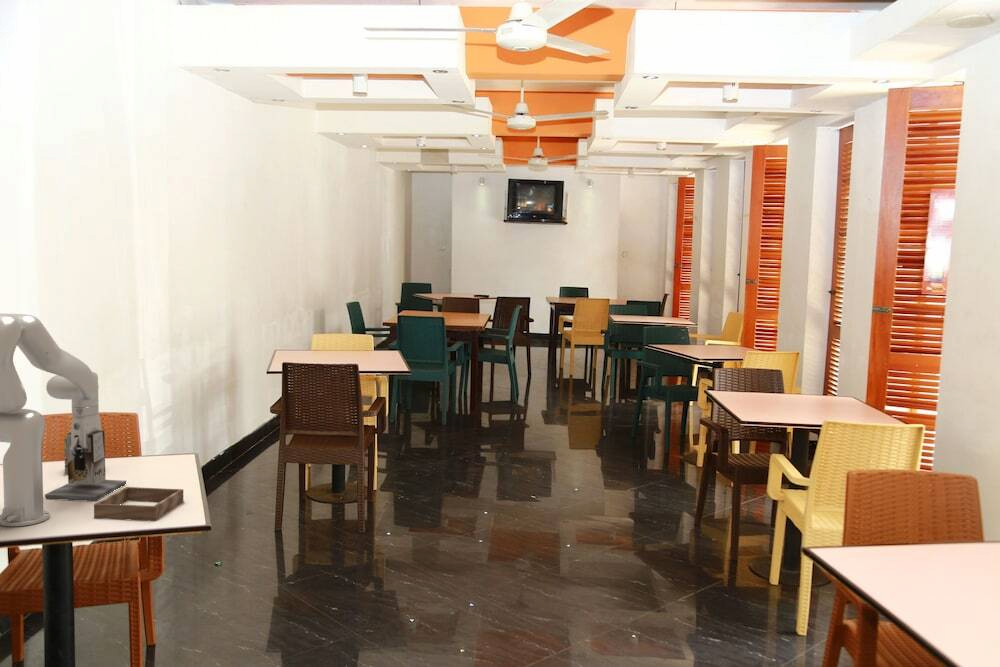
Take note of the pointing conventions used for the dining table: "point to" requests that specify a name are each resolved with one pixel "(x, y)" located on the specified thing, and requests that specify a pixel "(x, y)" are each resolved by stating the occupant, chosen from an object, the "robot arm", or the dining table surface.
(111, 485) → the serving board
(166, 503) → the wooden frame
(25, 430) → the robot arm
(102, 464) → the coffee box
